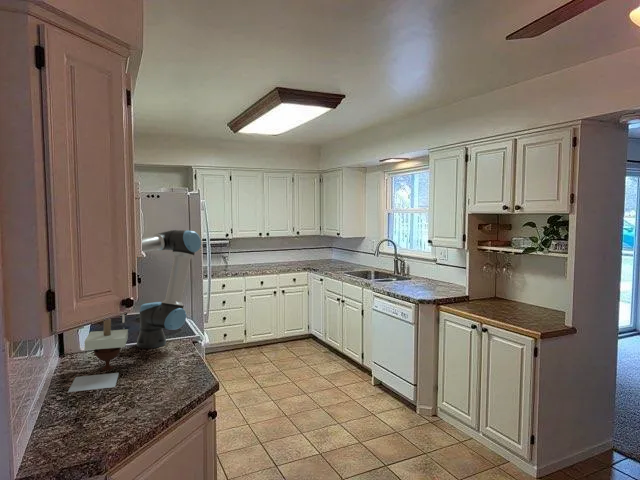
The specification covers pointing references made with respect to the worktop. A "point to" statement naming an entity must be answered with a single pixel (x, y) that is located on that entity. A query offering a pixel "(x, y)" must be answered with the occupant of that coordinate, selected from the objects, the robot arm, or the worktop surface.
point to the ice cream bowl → (107, 356)
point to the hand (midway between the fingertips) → (107, 323)
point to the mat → (94, 382)
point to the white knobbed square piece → (106, 338)
